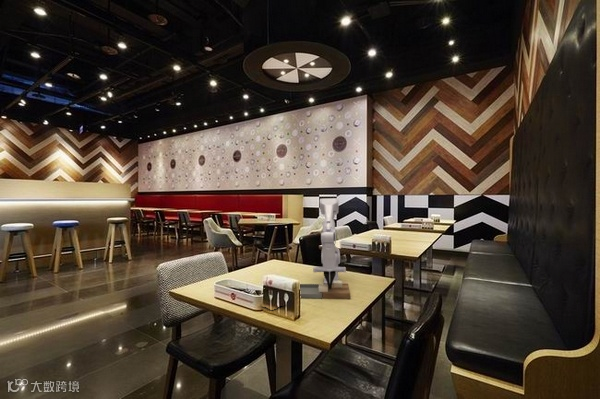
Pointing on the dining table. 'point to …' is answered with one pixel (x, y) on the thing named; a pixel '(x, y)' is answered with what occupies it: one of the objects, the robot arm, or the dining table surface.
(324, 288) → the tile
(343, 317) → the dining table surface
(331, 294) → the plate
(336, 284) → the tile
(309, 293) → the tray
